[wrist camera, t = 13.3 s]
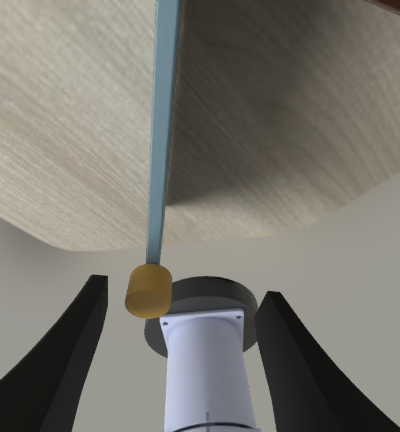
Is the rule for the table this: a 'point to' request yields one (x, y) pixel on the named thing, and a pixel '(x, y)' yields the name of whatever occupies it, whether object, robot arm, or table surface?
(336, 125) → the table surface
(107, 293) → the robot arm
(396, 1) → the cabinet
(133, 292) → the blue cabinet door
